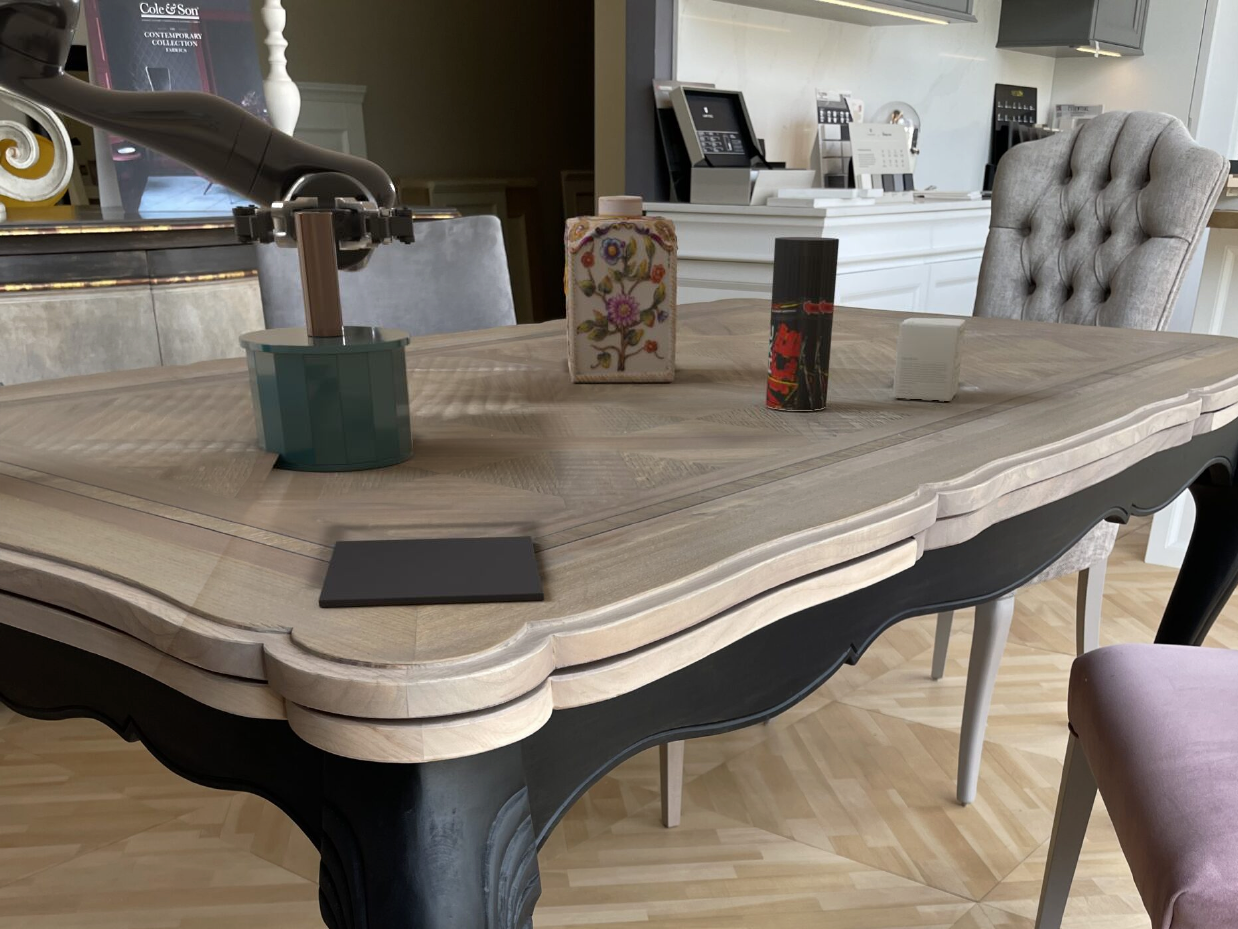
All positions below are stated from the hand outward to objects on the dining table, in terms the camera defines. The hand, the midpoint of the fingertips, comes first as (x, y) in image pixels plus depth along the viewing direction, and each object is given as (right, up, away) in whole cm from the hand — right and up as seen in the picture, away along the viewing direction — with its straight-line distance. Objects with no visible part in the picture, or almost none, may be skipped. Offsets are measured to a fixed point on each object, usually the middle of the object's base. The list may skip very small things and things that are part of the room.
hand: (319, 228), depth 96 cm
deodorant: (+40, -4, +27) cm, 49 cm away
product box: (+55, -1, +33) cm, 64 cm away
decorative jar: (+23, +5, +45) cm, 50 cm away
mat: (+13, -32, -24) cm, 42 cm away
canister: (0, -16, +5) cm, 17 cm away
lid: (0, -9, +1) cm, 9 cm away
